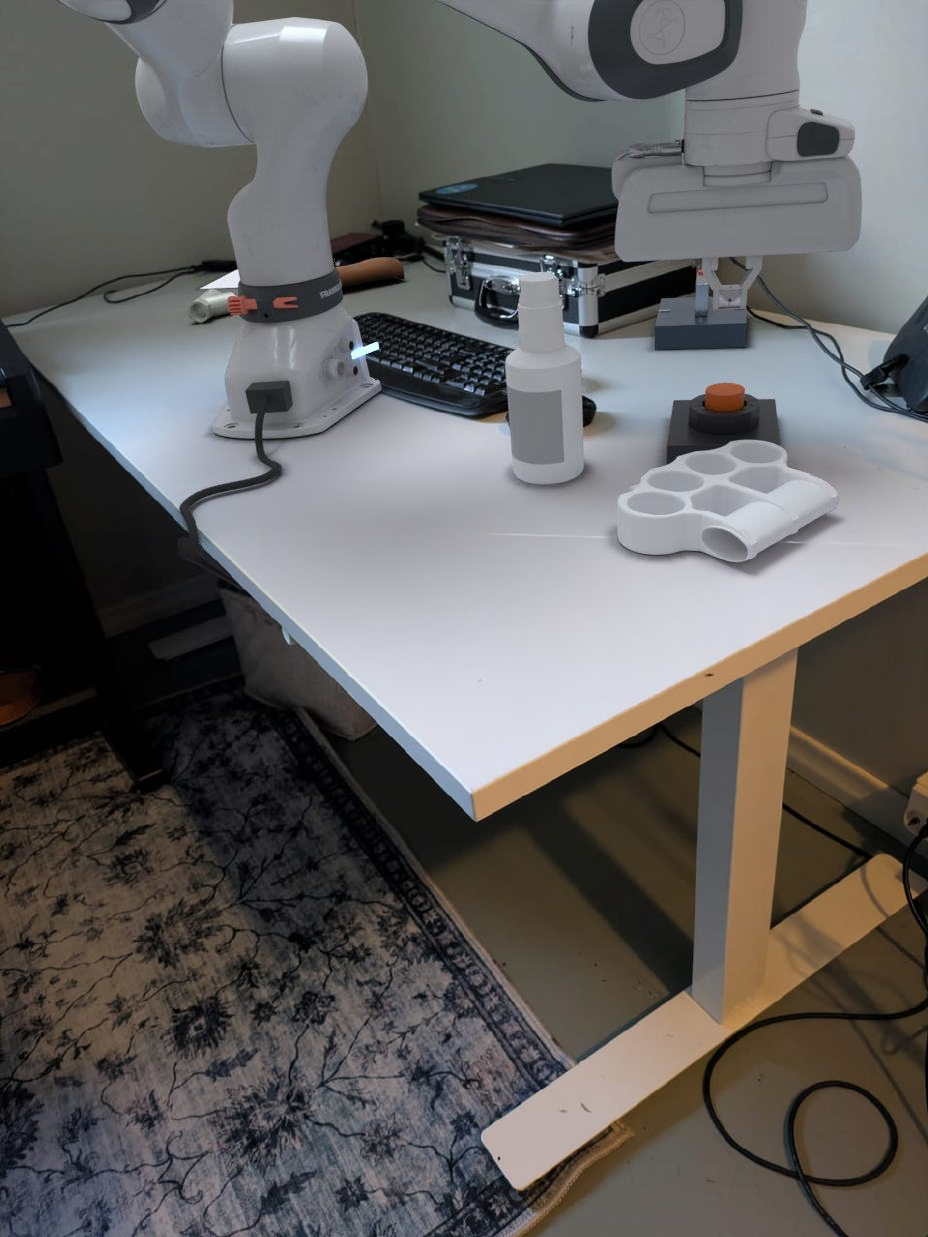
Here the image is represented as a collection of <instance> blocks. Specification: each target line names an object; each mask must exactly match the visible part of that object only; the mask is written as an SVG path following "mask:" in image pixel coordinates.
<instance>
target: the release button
mask: <svg viewBox="0 0 928 1237" xmlns="http://www.w3.org/2000/svg"><path fill="white" fill-rule="evenodd" d="M704 394H705V408H706V409H708V410H713V411H734V410H739V409H742V408H743V407H744V396H745V394H746V388H745V386H743V385H741V384H739V383H734V382H718V383H713V384H710V385H708V386H707V387H706V388H705V391H704Z"/></svg>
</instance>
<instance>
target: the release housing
mask: <svg viewBox="0 0 928 1237" xmlns="http://www.w3.org/2000/svg"><path fill="white" fill-rule="evenodd" d="M777 410H778V409H777V402H776V399H775V398H757V397H755V396H754V395H751V394H749V393H745V396H744V407H743V408H742V409H739V410H734V411H713V410H708V409H706V408H705V393H704V394H699V395H697V396H695V397H694V398H692V399H673V402H672V408H671V415H670V422H669V429H668V436H667V443H666V462H665V465H668V464H670V463H672V462H673V461H674V460H675V459H676V458H677V457H678V456H681V455H684V454H688V453H692V452H695V451H707V450H713V449H717V448H720V447H723V446H725V445H727V444H728V443H729V442H731V441H737V440H760V441H766V442H770V443H774V444H776V445H779V446H780V447H781V441H780V440H781V438H780V430H779V421H778V413H777V412H778V411H777Z"/></svg>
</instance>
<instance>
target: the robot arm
mask: <svg viewBox="0 0 928 1237" xmlns="http://www.w3.org/2000/svg"><path fill="white" fill-rule="evenodd" d="M56 1H57V2H59V4H62V5H64V6H66V7H67V8H69V9H71V10H72V11H75V12H77V13H79V14H81V15H83V16H86V17H88V18H90V19H94V20H96V21H99V22H103V24H104V25H105V26H107V27H108V28H109V29H110V30H111V31H112V32H113V33H114V34H115V35H116V36H117V37H119V38H120V40H122V42H124V44H126V45H127V47H129V48H130V49H131V51H133V53H135V54H136V56H138V60H137V62H136V67H135V74H134V85H135V86H134V87H135V93H136V98H137V101H138V104H139V107H140V110H141V112H142V114H143V117H144V118H145V120H146V121H147V123H148V124H149V126H150V127H151V129H152V130H153V131H154V132H155V133H156V134H157V135H158V136H159V137H160V138H161V139H163V140H164V141H167V142H169V143H175V144H179V145H183V146H191V147H195V148H204V149H205V148H206V149H213V148H223V147H224V148H225V147H237V146H238V147H239V146H249V145H255V147H256V156H257V158H256V159H257V161H256V162H257V164H256V171H255V175H254V178H253V179H252V180H251V181H250V182H248V183H247V184H246V185H245V186H243V187H242V188H241V189H240V190H239V191H238V192H237V193H236V194H235V196H234V197H233V198H232V200H231V201H230V204H229V206H228V210H227V216H226V223H227V226H228V230H229V235H230V240H231V244H232V245H231V246H232V249H233V253H234V257H235V258H234V259H235V262H236V267H237V269H238V272H239V277H240V281H239V283H238V288H237V295H236V296H237V297H236V296H229V297H228V299H227V301H228V302H227V305H229V306H227V309H229V310H228V311H229V312H231V313H229V314H230V315H232V316H236V315H238V316H239V317H240V319H241V322H240V326H239V330H238V334H237V336H236V339H235V342H234V345H233V347H232V350H231V354H230V357H229V360H228V363H227V367H226V369H225V372H224V388H225V393H226V394H225V395H226V399H227V404H226V405H225V406H224V408H223V409H222V410H221V412H220V413H219V415H218V416H217V417H216V419H215V420H214V422H213V423H212V425H211V426H212V432H213V433H214V434H215V435H218V436H222V437H226V438H235V439H254V444H255V452H256V455H257V458H258V459H259V461H260V462H261V463H262V464H264V465H265V466H267V467H268V468H270V469H269V470H268V471H267V472H265V473H263V474H260V475H257V476H253V477H249V478H244V479H240V480H235V481H231V482H230V481H229V482H225V483H221V484H216V485H211V486H208V487H206V488H203V489H201V490H198V491H196V492H193V493H192V494H191V495H189V496H188V497H187V498H185V499H184V500H183V501H182V502H181V503H180V505H179V508H178V509H179V512H180V515H181V516H182V517H183V519H184V521H185V523H186V526H187V531H188V539H189V540H188V542H189V547H190V548H192V549H193V548H197V547H198V546H199V545H200V540H199V532H198V531H199V530H198V526H197V522H196V519H195V517H194V516H195V515H194V514H193V513H192V512H191V510H190V508H191V507H192V506H193V505H195V504H196V503H197V502H199V501H201V500H202V499H203V500H204V498H207V497H210V496H214V495H217V494H222V493H225V492H231V491H235V490H240V489H245V488H250V487H255V486H257V485H260V484H263V483H266V482H268V481H270V480H273V479H274V478H276V477H277V476H278V475H279V474H280V473H281V471H282V464H280V463H279V462H277V461H275V460H273V459H270V458H269V457H268V456H267V455H266V453H265V448H264V441H263V440H264V439H265V440H266V439H267V440H268V439H286V438H296V437H303V436H309V435H314V434H319V433H321V432H324V431H325V430H327V429H329V428H330V427H331V426H333V425H335V423H337V422H338V421H340V420H341V419H343V418H344V417H345V416H348V414H350V413H351V412H353V411H354V410H356V409H357V408H359V407H360V406H361V405H363V404H364V403H365V402H367V401H368V400H370V399H371V398H372V397H374V396H376V395H377V394H379V392H381V391H382V390H383V388H382V384H381V381H380V379H377V380H375V379H376V378H375V379H374V377H371V376H370V371H369V366H368V362H367V358H366V355H367V354H369V353H372V352H374V351H377V350H379V349H380V347H379V346H380V345H379V342H378V341H376V342H373V343H370V344H368V345H366V346H364V345H363V341H362V335H361V330H360V327H359V324H358V322H357V321H356V320H355V319H354V318H353V317H352V316H351V315H350V314H349V313H348V311H347V310H346V309H345V307H344V305H343V302H342V301H343V299H344V294H343V287H342V283H341V279H340V277H339V272H338V269H337V268H336V266H335V264H334V262H333V260H334V258H333V251H332V245H331V239H330V238H331V237H330V230H329V222H328V210H327V187H328V181H329V176H330V171H331V167H332V164H333V161H334V158H335V155H336V153H337V150H338V149H339V146H340V144H341V143H342V141H343V140H344V139H345V137H346V135H347V134H348V132H349V131H350V130H351V129H352V128H353V127H354V126H355V125H356V124H357V122H358V120H359V119H360V117H361V115H362V113H363V110H364V109H365V105H366V102H367V97H368V92H369V76H368V75H369V74H368V69H367V64H366V60H365V58H364V55H363V53H362V49H361V48H360V45H358V42H357V41H356V39H355V38H354V37H353V35H352V34H351V33H350V32H349V30H348V29H347V28H346V27H344V25H343V24H341V23H339V22H336V21H332V20H324V19H318V18H308V17H301V16H299V17H298V16H292V17H284V18H277V19H268V20H262V21H254V22H245V23H233V20H234V12H235V10H234V9H235V6H234V0H56ZM435 1H437V2H439V3H441V4H442V5H445V6H447V7H448V8H451V9H453V10H454V11H456V12H458V13H460V14H463V15H465V16H467V17H468V18H470V19H473V20H474V21H476V22H477V23H480V24H482V25H484V26H486V27H488V28H490V29H492V30H494V31H496V32H498V33H500V34H501V35H504V36H505V37H507V38H509V39H510V40H513V41H515V42H516V43H518V44H520V45H521V46H522V47H523V48H524V49H526V50H527V51H528V52H529V53H530V54H531V55H532V57H533V58H534V59H535V60H536V62H537V63H538V64H539V65H540V67H541V68H542V69H543V71H544V72H545V74H546V75H547V76H548V77H549V79H550V80H551V81H552V82H553V83H554V84H555V86H557V87H558V88H559V89H560V90H561V91H563V92H564V93H565V94H567V95H568V96H570V97H572V98H574V99H576V100H579V101H582V102H588V103H601V102H608V101H609V102H611V101H612V102H617V103H619V102H620V103H632V104H633V103H634V104H635V103H636V104H637V103H638V104H639V103H641V104H642V103H648V102H653V101H657V100H659V99H661V98H664V97H666V96H668V95H671V94H673V93H675V92H679V91H682V90H684V122H683V124H684V127H683V138H681V139H674V140H664V141H658V142H654V143H652V142H651V143H646V142H638V143H633V144H630V145H629V147H628V149H625V150H623V151H622V152H619V154H617V156H616V157H615V159H614V161H613V163H612V166H611V191H612V194H613V196H614V197H615V199H616V200H617V201H618V205H617V212H616V219H615V228H614V229H615V230H614V253H616V255H617V256H618V257H619V259H620V260H621V261H622V262H624V263H631V262H651V261H672V260H674V261H676V260H691V259H693V260H694V259H701V270H702V273H703V275H704V277H705V278H706V280H707V282H708V284H709V288H710V289H711V291H712V292H713V293H712V294H713V295H712V297H713V310H718V309H746V310H747V304H748V290H750V288H751V287H752V286H753V283H754V282H755V280H756V279H757V277H758V275H759V274H760V273H761V272H762V269H763V262H764V256H777V255H797V254H816V253H818V254H819V253H820V254H821V253H839V252H848V251H850V250H851V249H852V248H853V247H854V246H855V244H856V243H857V242H858V241H859V239H860V237H861V231H862V230H861V229H862V217H863V188H862V178H861V173H860V171H859V168H858V166H857V164H856V163H855V161H854V160H853V158H852V157H851V156H850V155H849V154H850V153H851V152H852V150H853V147H854V144H855V139H856V129H855V126H854V125H853V124H852V123H851V122H850V121H849V120H848V119H846V118H843V117H840V116H836V115H833V114H829V113H824V112H823V111H822V110H819V109H814V108H810V109H809V108H804V107H801V105H800V93H801V92H800V91H801V78H800V72H799V67H798V55H799V54H798V52H799V47H800V42H801V38H802V36H803V32H804V30H805V27H806V23H807V22H806V21H807V10H808V0H435ZM627 156H628V157H629V158H624V157H627ZM735 257H736V258H737V257H745V269H746V270H747V271H746V273H745V274H744V276H743V278H742V280H741V281H740V283H739V284H722V283H721V281H720V279H719V277H718V276H717V274H716V272H715V271H717V270H718V269H719V260H720V259H719V258H735Z"/></svg>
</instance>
